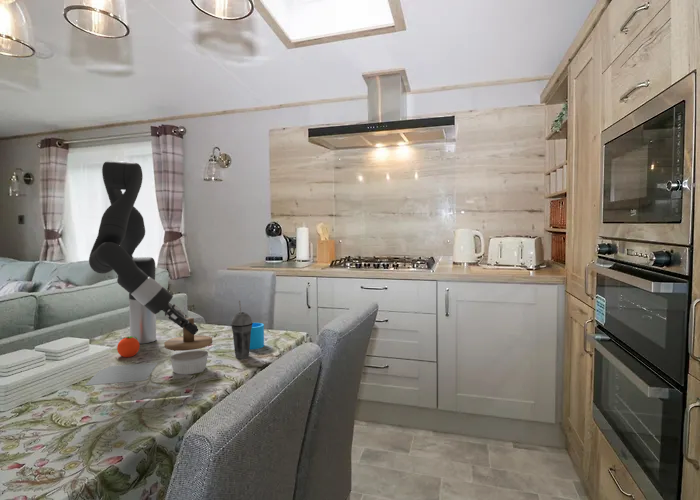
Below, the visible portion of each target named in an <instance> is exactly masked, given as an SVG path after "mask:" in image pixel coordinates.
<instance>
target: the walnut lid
mask: <svg viewBox="0 0 700 500" xmlns="http://www.w3.org/2000/svg"><path fill="white" fill-rule="evenodd" d="M186 319H187V320H189V322H190V323H192V324H193V325H194V324H195V318H194V317H188V318H186ZM183 321H184V320H183ZM182 329H183V330H182V336H176V337H172V338H170V339H167V340H166V341H164V345H163V347H164V348H165V349H166V350H168V351H169V350H170V351H175V352H179V351H184V350H194V349H200V350H201V349H203V348H206V347H209V346H210V345H212V344H213V338H212V337H211V336H208V335H203V334H201V335H200V334H195V335H193V334H191V333H190V332H189V331H188V330H187V329H185V328H182Z"/></svg>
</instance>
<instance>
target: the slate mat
mask: <svg viewBox="0 0 700 500" xmlns="http://www.w3.org/2000/svg"><path fill="white" fill-rule="evenodd" d="M157 364H158V362H149V363H133V364H121V365H108V366H109V367H108V368H106V369H103V370H101V369H99V371H97V372H96V373H95V374H94V375H93V376H92V377H91V378H90V379H89V380H88V381H87V382H86V383H85V384H84V386H85V387H86V386H97V385H106V384H110V385H111V384H120V383H129V382H132V383H133V382H143V381H147V380H148V378H149V377H150V376H151V374H152V372H153V371H154V370H155V368H156V366H157Z"/></svg>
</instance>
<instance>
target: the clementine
mask: <svg viewBox="0 0 700 500" xmlns="http://www.w3.org/2000/svg"><path fill="white" fill-rule="evenodd" d="M135 338H136V339H135ZM135 338H133V337H130V336H125V337H124V338H122V339H121V340H119V342H118V344H117V348H116V349H117V353H118V354H119V355H120V356H121V357H123V358H130V357H134V356H135V355H137V354H138V352H139V351H140V346H141V344H139V342H138V339H137V337H135Z"/></svg>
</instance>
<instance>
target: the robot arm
mask: <svg viewBox="0 0 700 500" xmlns="http://www.w3.org/2000/svg"><path fill="white" fill-rule="evenodd" d="M101 168H102V169H101V173H102V180H103V183H104V186H105V190H106V194H107V195H108V199H109V203H110V205H109V206H108V207H107V208H106V209H105V211H104V212H103V214H102V216H101V220H100V224H99V227H98V232H97V233H98V234H97V236H96V239H95V240H94V241H95V242H94V243H93V246H92V247H91V250H90V254H89V258H88V263H89V266H90V269H91V270H92V271H94V272H95V273H97V274H108V273H110V272H112V271H114V272H115V273H116V275H117V279H116V281H117V283H118V285H119V286H120V287H121V288H123V289H124V290H125V291H126V292H128V293H129V294H128V305H129V309H128V311H129V337H133V338H135V337H137V339H138V342H139V344H140V345H141V344H148V343H152V342H154V341H157V314H159V313H160V312H161V311H163V312H164V316H165V317H166V318H167V319H168V320H170V321H172V322H173V323H174V324H175V325H177V326H179V327H180V328H182V329H183V328H185V329H187V330H188V331H189V332H190V333H191V334H193V335H197V333H198V331H199V329H198V326H197V325H196V324H195V323H194V325H193V324H192V323H190V322H189V320H187V319H186V318H189V317H188V316H187V314H185V313H184V311H182V309H180V307H178V305H177V304H175V303H170V302H171V301H172V300H173V297H174V295H173V294H172V293H171V292H170V291H168V290H167V289H166V288H165V287H164V286H163V285H161V284H160V283H159V282H158V281H157V280H156V262H155V259H154V258H153V257H150V256H147V257H143V256H141V257H138V256H137V257H134V256H133V255H134V252H135V250H136V249H137V248H138V246H139V245H140V244H141V243H142V241H143V240H144V238H145V235H146V227H145V226H146V225H145V220H144V217H143V215H142V214H141V211H139V210H138V209H137V208H136V207H135V206H134V205H135V204H136V200H137V198H138V196H139V193H140V190H141V189H142V184H143V179H144V178H143V170H142V169H143V168H142V166H141V165H140V164H139V163H138V162H134V161H122V160H120V161H119V160H106V161H104V162H103V164H102V167H101ZM122 190H123V191H124V192H123V191H122ZM183 320H184V321H183ZM135 339H136V338H135Z"/></svg>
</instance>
